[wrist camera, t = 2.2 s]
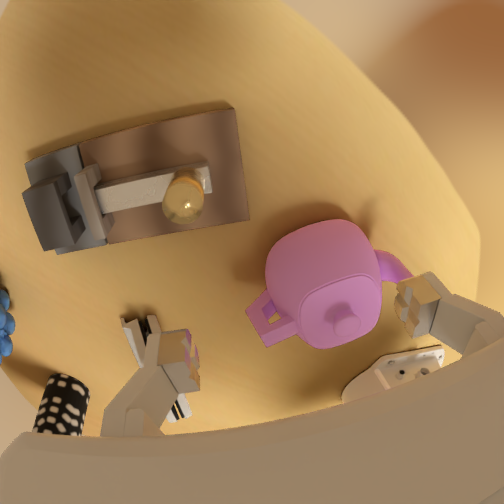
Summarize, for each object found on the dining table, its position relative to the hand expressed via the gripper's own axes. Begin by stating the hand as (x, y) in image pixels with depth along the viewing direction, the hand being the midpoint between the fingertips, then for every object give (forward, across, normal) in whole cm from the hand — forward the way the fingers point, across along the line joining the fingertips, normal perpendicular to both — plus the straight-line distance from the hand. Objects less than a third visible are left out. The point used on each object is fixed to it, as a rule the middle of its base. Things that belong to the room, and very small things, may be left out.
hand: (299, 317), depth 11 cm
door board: (+22, -11, 0) cm, 25 cm away
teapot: (+22, +7, -14) cm, 27 cm away
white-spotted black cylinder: (+22, -37, -31) cm, 54 cm away
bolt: (+20, -9, 0) cm, 22 cm away
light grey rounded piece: (+22, -16, -25) cm, 38 cm away
